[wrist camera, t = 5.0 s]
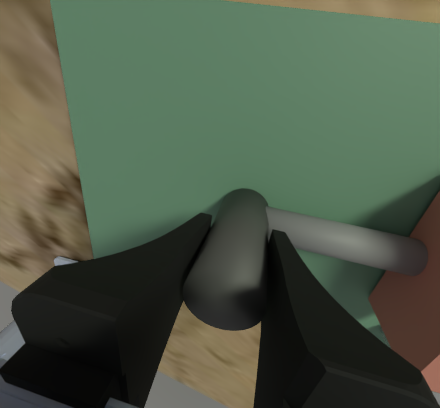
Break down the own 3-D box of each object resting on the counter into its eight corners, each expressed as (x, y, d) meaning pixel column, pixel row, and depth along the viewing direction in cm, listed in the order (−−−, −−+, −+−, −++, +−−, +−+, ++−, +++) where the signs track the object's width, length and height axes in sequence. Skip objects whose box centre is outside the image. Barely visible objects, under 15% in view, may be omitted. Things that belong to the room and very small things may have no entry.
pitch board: (517, 381, 17) (531, 397, 16) (103, 266, 21) (96, 273, 20) (963, 89, 8) (1053, 89, 7) (63, -11, 12) (47, -19, 11)
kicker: (406, 308, 15) (503, 463, 8) (213, 258, 16) (176, 359, 10) (507, 182, 10) (849, 310, 4) (233, 133, 12) (192, 173, 6)
